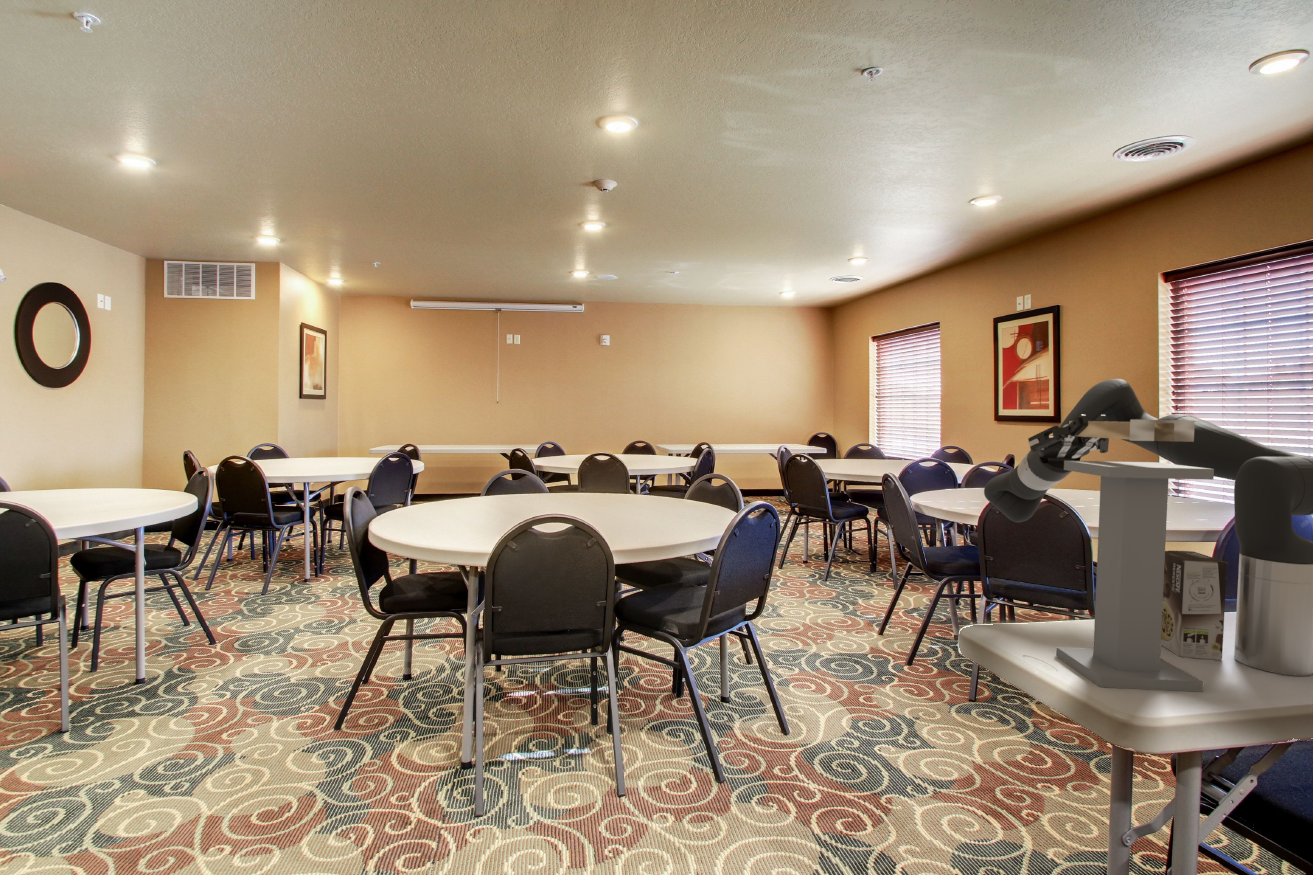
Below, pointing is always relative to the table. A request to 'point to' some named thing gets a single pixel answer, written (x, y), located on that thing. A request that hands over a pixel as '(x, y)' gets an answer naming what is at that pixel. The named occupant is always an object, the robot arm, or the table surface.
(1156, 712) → the table surface
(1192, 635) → the coffee box
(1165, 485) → the stand
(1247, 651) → the robot arm
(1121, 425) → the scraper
